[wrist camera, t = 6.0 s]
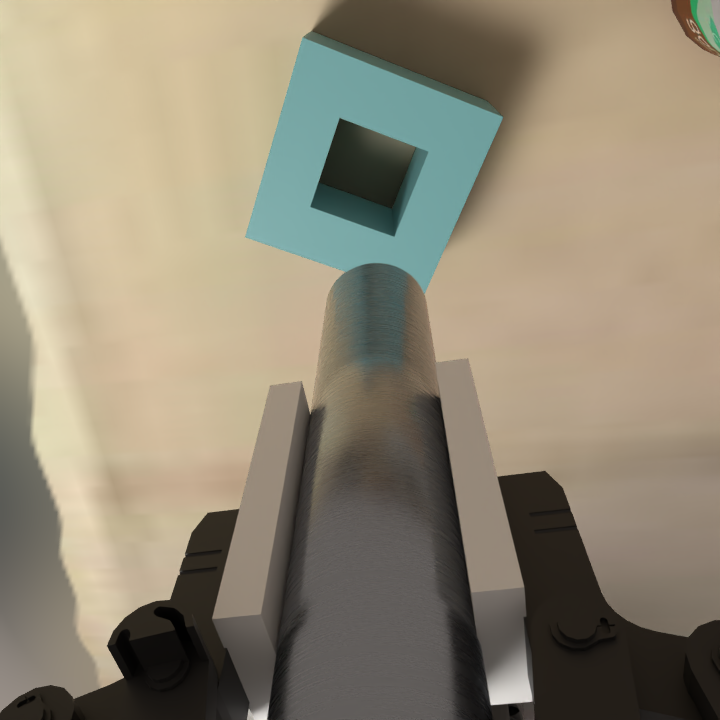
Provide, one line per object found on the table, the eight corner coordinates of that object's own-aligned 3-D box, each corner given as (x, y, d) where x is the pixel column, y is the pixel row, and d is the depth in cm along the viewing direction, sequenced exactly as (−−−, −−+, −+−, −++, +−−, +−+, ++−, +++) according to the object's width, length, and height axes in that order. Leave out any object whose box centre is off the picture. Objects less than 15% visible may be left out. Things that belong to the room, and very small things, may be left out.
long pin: (403, 366, 22) (446, 920, 9) (312, 336, 22) (222, 877, 9) (442, 283, 21) (560, 806, 8) (345, 248, 20) (295, 747, 7)
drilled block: (417, 264, 41) (422, 298, 36) (259, 209, 39) (245, 237, 35) (487, 101, 36) (503, 117, 32) (311, 31, 34) (302, 37, 30)
